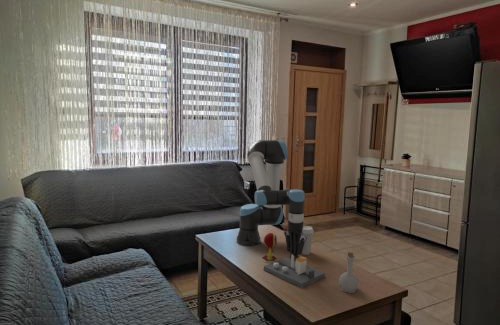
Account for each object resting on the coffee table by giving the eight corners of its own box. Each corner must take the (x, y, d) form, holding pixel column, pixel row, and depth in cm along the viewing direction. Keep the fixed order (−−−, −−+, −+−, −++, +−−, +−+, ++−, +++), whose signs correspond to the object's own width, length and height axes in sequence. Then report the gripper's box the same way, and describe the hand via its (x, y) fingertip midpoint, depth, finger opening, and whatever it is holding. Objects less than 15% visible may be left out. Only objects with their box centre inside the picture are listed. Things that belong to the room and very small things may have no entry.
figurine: (279, 262, 187) (280, 236, 185) (260, 262, 187) (261, 235, 185) (277, 256, 196) (278, 231, 194) (260, 256, 196) (261, 230, 194)
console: (263, 269, 178) (263, 260, 178) (286, 260, 190) (287, 252, 190) (301, 287, 160) (302, 277, 159) (324, 276, 172) (325, 267, 171)
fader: (295, 271, 171) (295, 258, 170) (301, 269, 174) (301, 256, 173) (300, 274, 169) (300, 260, 168) (306, 271, 172) (306, 258, 171)
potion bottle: (334, 289, 160) (337, 251, 157) (345, 283, 166) (347, 246, 164) (352, 296, 153) (354, 257, 151) (362, 289, 160) (364, 252, 157)
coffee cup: (312, 250, 207) (313, 225, 205) (313, 256, 198) (314, 230, 196) (296, 249, 208) (297, 224, 206) (296, 255, 199) (297, 229, 197)
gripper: (280, 219, 174) (279, 264, 177) (301, 225, 164) (299, 273, 167) (290, 216, 179) (288, 260, 182) (310, 222, 169) (308, 268, 172)
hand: (293, 266), depth 175 cm, fingers closed
